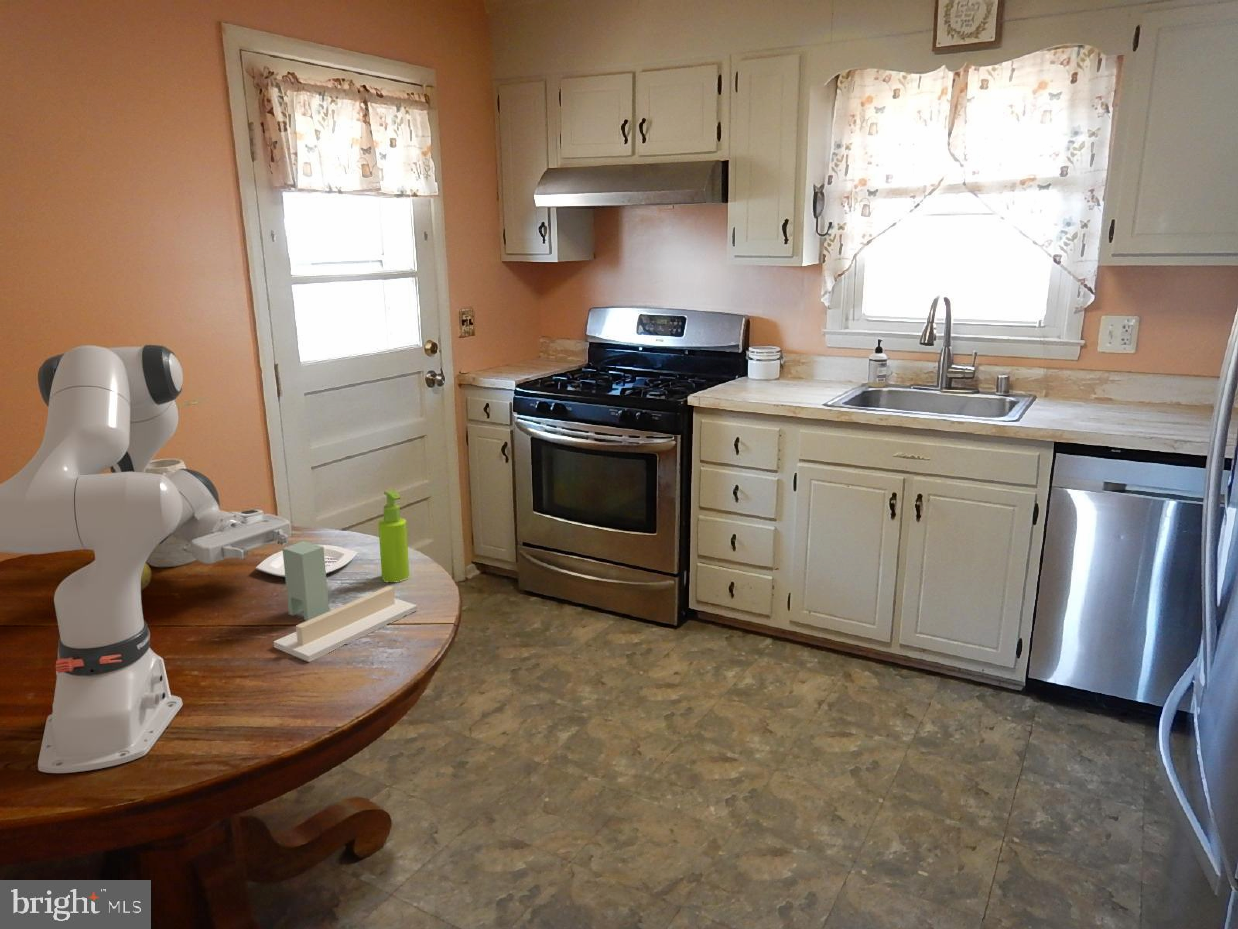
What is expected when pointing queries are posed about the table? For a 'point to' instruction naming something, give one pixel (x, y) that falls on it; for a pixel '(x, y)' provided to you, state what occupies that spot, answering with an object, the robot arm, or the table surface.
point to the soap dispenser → (393, 541)
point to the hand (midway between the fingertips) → (265, 547)
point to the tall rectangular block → (306, 579)
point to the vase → (172, 547)
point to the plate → (343, 555)
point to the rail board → (344, 633)
